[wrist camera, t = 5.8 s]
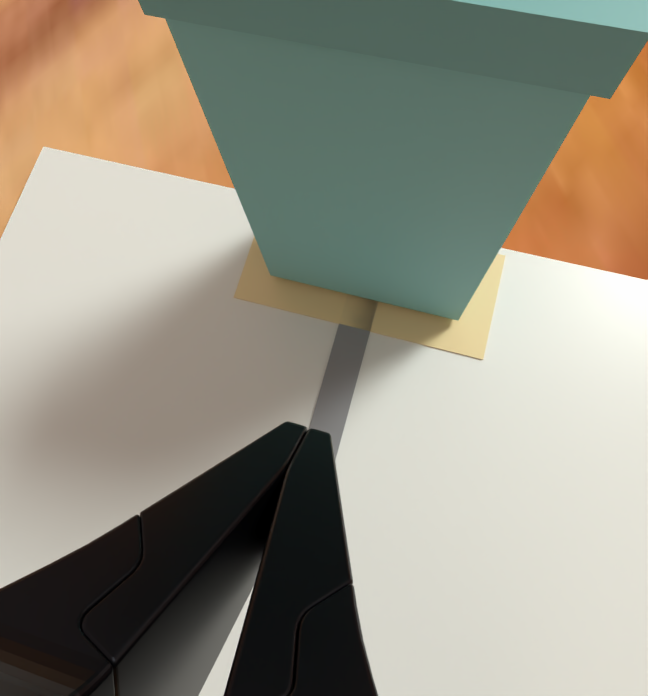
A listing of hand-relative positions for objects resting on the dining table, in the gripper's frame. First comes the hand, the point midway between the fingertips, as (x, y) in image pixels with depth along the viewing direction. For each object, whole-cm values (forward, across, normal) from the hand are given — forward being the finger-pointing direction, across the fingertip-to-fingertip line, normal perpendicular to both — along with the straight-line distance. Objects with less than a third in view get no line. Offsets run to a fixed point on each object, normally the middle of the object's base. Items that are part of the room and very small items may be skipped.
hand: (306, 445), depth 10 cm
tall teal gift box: (+9, 0, 0) cm, 9 cm away
